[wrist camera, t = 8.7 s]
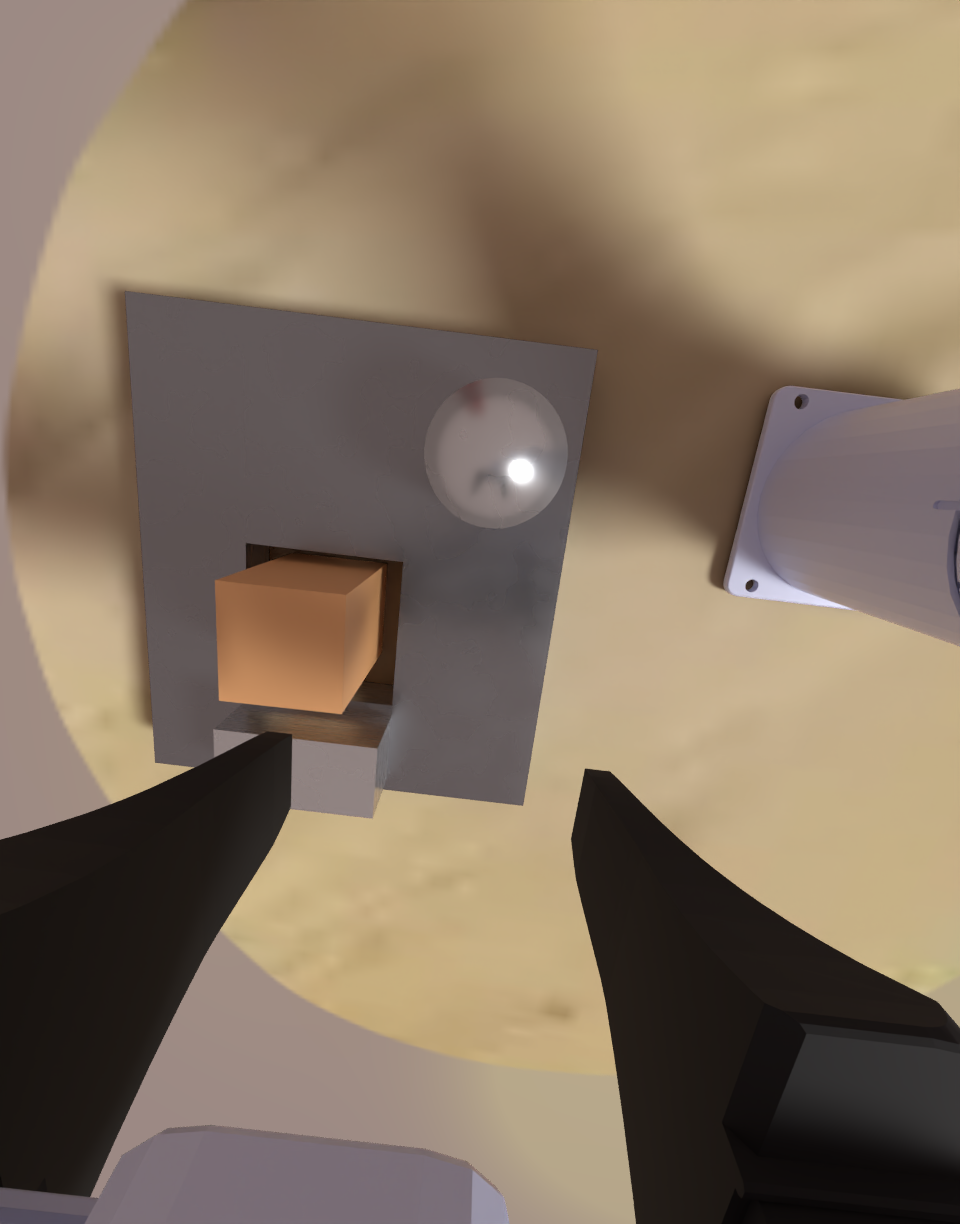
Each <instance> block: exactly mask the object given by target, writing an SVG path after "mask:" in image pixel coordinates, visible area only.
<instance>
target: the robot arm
mask: <svg viewBox="0 0 960 1224" xmlns="http://www.w3.org/2000/svg"><path fill="white" fill-rule="evenodd" d="M797 396H799V397H801V399H802V405H801V407H800V408H799V409H797V408H796V407H795V405H794V401H795V399H796V397H797ZM749 580H753V586H752V588H750V589H749V590H746V589H745V585H746V583H747V582H748V581H749ZM723 586H724V589H725V590H726V591H727V592H728V593H730V594H732V595H735V596H741V597H749V598H757V599H765V600H774V601H782V602H790V603H799V604H807V605H815V606H823V607H832V608H840V609H848V610H856V611H860V612H863V613H866V614H868V615H871V616H874V617H877V618H880V619H883V620H886V621H889V622H891V623H894V624H897V625H900V626H903V627H906V628H909V629H912V630H914V631H917V632H920V633H923V634H926V635H929V636H932V637H935V638H937V639H940V640H943V641H946V642H949V643H952V644H955V645H958V646H960V389H955V390H950V391H945V392H941V393H936V394H931V395H926V396H921V397H916V398H911V399H906V400H902V399H894V398H886V397H878V396H870V395H862V394H854V393H846V392H838V391H830V390H822V389H814V388H806V387H798V386H785V387H782V388H780V389H778V390H776V391H775V392H774V393H773V394H772V396H771V398H770V401H769V405H768V408H767V412H766V416H765V420H764V424H763V428H762V432H761V436H760V440H759V444H758V448H757V452H756V456H755V460H754V464H753V468H752V471H751V475H750V479H749V483H748V487H747V491H746V495H745V499H744V503H743V507H742V511H741V515H740V519H739V523H738V527H737V531H736V535H735V538H734V542H733V546H732V550H731V554H730V558H729V562H728V566H727V570H726V574H725V578H724V584H723ZM291 781H292V734H287V733H278V732H270V731H267V732H265V733H262V734H260V735H258V736H256V737H254V738H252V739H250V740H248V741H246V742H244V743H242V744H240V745H238V746H236V747H234V748H232V749H230V750H228V751H226V752H224V753H222V754H220V755H218V756H216V757H214V758H212V759H211V760H209V761H207V762H205V763H203V764H201V765H199V766H197V767H195V768H193V769H191V770H188V771H186V772H184V773H182V774H180V775H178V776H176V777H173V778H171V779H169V780H167V781H165V782H163V783H161V784H158V785H156V786H154V787H152V788H150V789H147V790H145V791H143V792H140V793H138V794H136V795H133V796H131V797H128V798H126V799H123V800H121V801H118V802H116V803H113V804H110V805H108V806H105V807H102V808H100V809H97V810H95V811H92V812H89V813H86V814H83V815H80V816H77V817H74V818H71V819H67V820H65V821H61V822H58V823H55V824H52V825H49V826H46V827H43V828H39V829H36V830H33V831H30V832H27V833H23V834H19V835H16V836H12V837H9V838H5V839H1V840H0V1224H509V1219H508V1214H507V1210H506V1204H505V1199H504V1197H503V1195H502V1194H501V1193H500V1191H499V1190H498V1189H497V1188H496V1186H495V1185H494V1184H492V1183H491V1182H490V1181H489V1180H488V1179H487V1178H485V1177H484V1176H483V1175H482V1174H481V1173H480V1172H479V1171H478V1170H476V1169H475V1168H474V1167H473V1166H472V1165H470V1163H468V1162H467V1161H464V1160H461V1159H457V1158H454V1157H451V1156H447V1155H444V1154H441V1153H437V1152H434V1151H431V1150H427V1149H423V1148H414V1147H405V1146H396V1145H387V1144H378V1143H369V1142H360V1141H351V1140H341V1139H332V1138H324V1137H314V1136H305V1135H296V1134H287V1133H279V1132H270V1131H260V1130H252V1129H243V1128H234V1127H224V1126H215V1125H205V1126H191V1127H178V1128H168V1129H166V1130H164V1131H162V1132H160V1133H158V1134H157V1135H155V1136H153V1137H151V1138H150V1139H148V1140H146V1141H145V1142H143V1143H141V1144H140V1145H138V1146H136V1147H135V1148H133V1149H132V1150H130V1151H128V1152H127V1153H125V1154H123V1155H122V1156H121V1158H120V1160H119V1162H118V1164H117V1165H116V1167H115V1169H114V1171H113V1173H112V1175H111V1176H110V1178H109V1180H108V1182H107V1184H106V1186H105V1187H104V1189H103V1191H102V1193H101V1195H100V1197H99V1198H92V1197H90V1196H91V1193H92V1191H93V1189H94V1187H95V1185H96V1182H97V1180H98V1178H99V1175H100V1173H101V1171H102V1169H103V1166H104V1164H105V1162H106V1160H107V1157H108V1155H109V1153H110V1151H111V1148H112V1146H113V1144H114V1141H115V1139H116V1137H117V1135H118V1133H119V1131H120V1129H121V1126H122V1124H123V1122H124V1120H125V1118H126V1116H127V1113H128V1111H129V1109H130V1107H131V1105H132V1103H133V1100H134V1098H135V1096H136V1094H137V1092H138V1090H139V1088H140V1085H141V1083H142V1081H143V1079H144V1077H145V1075H146V1072H147V1070H148V1068H149V1066H150V1064H151V1062H152V1060H153V1058H154V1056H155V1054H156V1052H157V1049H158V1047H159V1045H160V1044H161V1041H162V1039H163V1037H164V1035H165V1033H166V1031H167V1029H168V1027H169V1025H170V1023H171V1021H172V1019H173V1017H174V1015H175V1013H176V1011H177V1009H178V1007H179V1005H180V1003H181V1001H182V999H183V997H184V995H185V993H186V991H187V989H188V987H189V985H190V983H191V981H192V979H193V977H194V975H195V973H196V972H197V970H198V968H199V966H200V964H201V962H202V960H203V958H204V956H205V954H206V953H207V951H208V949H209V947H210V946H211V944H212V942H213V941H214V939H215V937H216V935H217V934H218V932H219V931H220V929H221V927H222V926H223V924H224V923H225V921H226V919H227V918H228V916H229V915H230V913H231V912H232V910H233V908H234V907H235V905H236V904H237V902H238V900H239V899H240V897H241V896H242V894H243V893H244V891H245V889H246V888H247V886H248V885H249V883H250V881H251V880H252V878H253V877H254V875H255V874H256V872H257V870H258V869H259V867H260V865H261V864H262V862H263V861H264V859H265V857H266V856H267V854H268V853H269V851H270V849H271V848H272V846H273V844H274V842H275V840H276V838H277V836H278V834H279V832H280V830H281V828H282V825H283V823H284V821H285V819H286V816H287V814H288V812H289V810H290V807H291ZM571 842H572V851H573V860H574V868H575V875H576V881H577V886H578V890H579V894H580V898H581V902H582V906H583V910H584V914H585V918H586V922H587V926H588V930H589V934H590V938H591V942H592V946H593V950H594V954H595V958H596V962H597V966H598V970H599V974H600V978H601V982H602V987H603V992H604V996H605V1001H606V1007H607V1013H608V1019H609V1026H610V1032H611V1038H612V1045H613V1051H614V1057H615V1064H616V1071H617V1078H618V1085H619V1092H620V1099H621V1106H622V1114H623V1121H624V1129H625V1137H626V1145H627V1152H628V1160H629V1167H630V1176H631V1184H632V1192H633V1200H634V1209H635V1218H636V1224H960V1028H959V1027H958V1025H957V1024H956V1023H955V1022H954V1020H952V1018H951V1017H950V1016H949V1015H948V1013H947V1012H946V1011H945V1010H944V1009H943V1008H942V1007H941V1005H940V1004H939V1003H938V1002H936V1001H935V1000H933V999H931V998H929V997H927V996H925V995H923V994H921V993H919V992H917V991H915V990H913V989H911V988H909V987H907V986H905V985H903V984H901V983H899V982H897V981H895V980H893V979H891V978H889V977H887V976H885V975H883V974H881V973H879V972H877V971H875V970H873V969H871V968H869V967H867V966H865V965H863V964H861V963H859V962H857V961H855V960H854V959H852V958H850V957H848V956H847V955H845V954H843V953H841V952H840V951H838V950H836V949H834V948H832V947H831V946H829V945H827V944H825V943H824V942H822V941H820V940H818V939H817V938H815V937H813V936H812V935H810V934H808V933H807V932H805V931H803V930H802V929H800V928H798V927H797V926H795V925H794V924H792V923H790V922H789V921H787V920H786V919H784V918H783V917H781V916H780V915H778V914H777V913H775V912H774V911H772V910H771V909H769V908H768V907H766V906H764V905H763V904H761V903H760V902H758V901H757V900H756V899H754V898H753V897H751V896H750V895H748V894H747V893H746V892H744V891H743V890H741V889H740V888H739V887H737V886H736V885H735V884H733V883H732V882H731V881H730V880H728V879H727V878H726V877H724V876H723V875H722V874H720V873H719V872H718V871H716V870H715V869H714V868H713V867H711V866H710V865H709V864H708V863H706V862H705V861H704V860H703V859H701V858H700V857H699V856H698V855H697V854H696V853H695V852H693V851H692V850H691V849H690V848H689V847H688V846H687V845H685V844H684V843H683V842H682V841H681V840H680V839H679V838H677V837H676V836H675V835H674V834H673V833H672V832H671V831H670V830H669V829H668V828H667V827H666V826H665V825H664V824H662V823H661V822H660V821H659V820H658V819H657V818H656V817H655V816H654V815H653V814H652V813H651V812H650V811H649V810H648V809H647V808H646V807H645V806H644V805H643V804H642V803H641V802H640V801H639V800H638V799H637V798H636V797H635V796H634V795H633V794H632V793H631V792H630V791H629V790H628V789H627V788H626V787H625V786H624V785H623V784H622V783H621V782H620V781H619V780H618V779H617V778H616V777H615V776H614V775H613V774H612V773H611V772H610V771H601V770H593V769H585V772H584V777H583V782H582V787H581V792H580V797H579V802H578V807H577V812H576V817H575V822H574V827H573V832H572V837H571Z"/></svg>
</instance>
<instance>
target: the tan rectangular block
mask: <svg viewBox="0 0 960 1224" xmlns="http://www.w3.org/2000/svg"><path fill="white" fill-rule="evenodd" d="M386 577H387V563H380V562H371V561H362V560H353V559H344V558H335V557H326V556H317V555H308V554H299V553H291V554H288V555H285V556H283V557H280V558H277V559H274V560H271V561H268V562H266V563H263V564H260V565H257V566H254V567H251V568H248V569H246V570H243V571H240V572H237V573H234V574H231V575H229V576H226V577H223V578H220V579H217V580H215V600H216V629H217V658H218V687H219V701H226V702H235V703H244V704H253V705H262V706H271V707H280V708H290V709H299V710H308V711H317V712H326V713H335V714H342V713H343V711H344V710H345V708H346V707H347V705H348V704H349V702H350V701H351V699H352V698H353V696H354V694H355V693H356V691H357V690H358V688H359V687H360V685H361V684H362V682H363V681H364V679H365V678H366V676H367V674H368V673H369V671H370V670H371V668H372V667H373V665H374V664H375V662H376V661H377V659H378V657H379V656H380V654H381V653H382V643H383V627H384V610H385V593H386Z"/></svg>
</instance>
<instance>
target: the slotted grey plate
mask: <svg viewBox="0 0 960 1224" xmlns="http://www.w3.org/2000/svg"><path fill="white" fill-rule="evenodd" d="M125 300H126V316H127V331H128V347H129V363H130V378H131V394H132V409H133V425H134V440H135V456H136V471H137V487H138V502H139V518H140V533H141V549H142V565H143V580H144V596H145V611H146V627H147V642H148V658H149V673H150V689H151V704H152V720H153V736H154V751H155V763H163V764H171V765H180V766H188V767H197V766H199V765H201V764H203V763H205V762H207V761H209V760H211V759H212V758H214V757H216V756H218V755H220V754H222V753H224V752H226V751H228V750H230V749H232V748H234V747H236V746H238V745H240V744H242V743H244V742H246V741H248V740H250V739H252V738H254V737H256V736H258V735H260V734H262V733H265V732H267V731H270V732H278V733H287V734H292V781H291V807H290V809H295V810H304V811H313V812H321V813H330V814H338V815H347V816H355V817H364V818H373V816H374V813H375V810H376V807H377V805H378V802H379V799H380V796H381V793H382V791H383V789H385V790H394V791H402V792H411V793H419V794H428V795H436V796H445V797H453V798H462V799H470V800H479V801H487V802H496V803H505V804H513V805H522V806H523V803H524V797H525V791H526V785H527V779H528V773H529V766H530V760H531V754H532V748H533V742H534V736H535V730H536V724H537V718H538V712H539V705H540V699H541V693H542V687H543V681H544V675H545V669H546V663H547V657H548V651H549V644H550V638H551V632H552V626H553V620H554V614H555V608H556V602H557V596H558V590H559V584H560V577H561V571H562V565H563V559H564V553H565V547H566V541H567V535H568V529H569V523H570V516H571V510H572V504H573V498H574V492H575V486H576V480H577V474H578V468H579V462H580V455H581V449H582V443H583V437H584V431H585V425H586V419H587V413H588V407H589V401H590V395H591V388H592V382H593V376H594V370H595V364H596V358H597V352H598V350H594V349H586V348H578V347H570V346H562V345H554V344H546V343H538V342H530V341H522V340H514V339H506V338H498V337H490V336H482V335H474V334H466V333H458V332H450V331H442V330H434V329H426V328H417V327H409V326H401V325H393V324H385V323H377V322H369V321H361V320H353V319H345V318H337V317H329V316H321V315H313V314H305V313H297V312H289V311H281V310H273V309H265V308H257V307H249V306H241V305H233V304H225V303H217V302H209V301H201V300H193V299H185V298H177V297H169V296H161V295H153V294H145V293H137V292H129V291H125ZM269 546H275V547H283V548H291V549H299V550H308V551H316V552H324V553H332V554H341V555H349V556H357V557H366V558H374V559H382V560H390V561H399V562H403V572H402V584H401V597H400V610H399V623H398V636H397V649H396V662H395V675H394V685H389V684H380V683H372V682H362V684H361V685H360V687H359V688H358V690H357V691H356V693H355V694H354V696H353V698H352V699H351V701H350V702H349V704H348V705H347V707H346V708H345V710H344V711H343V713H342V714H335V713H326V712H317V711H308V710H299V709H290V708H280V707H271V706H262V705H253V704H244V703H235V702H226V701H219V687H218V658H217V629H216V600H215V580H217V579H220V578H223V577H226V576H229V575H231V574H234V573H237V572H240V571H243V570H246V569H248V568H251V567H254V566H257V565H260V564H263V563H266V562H268V561H269Z"/></svg>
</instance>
